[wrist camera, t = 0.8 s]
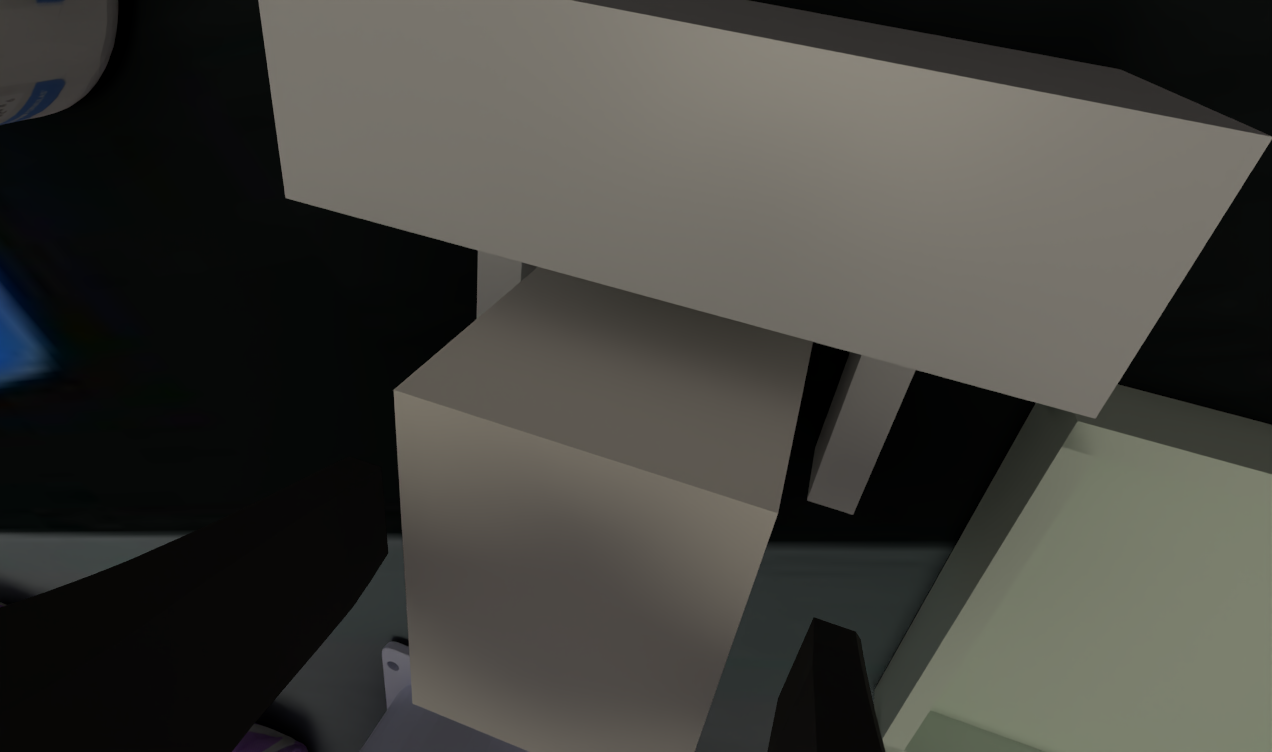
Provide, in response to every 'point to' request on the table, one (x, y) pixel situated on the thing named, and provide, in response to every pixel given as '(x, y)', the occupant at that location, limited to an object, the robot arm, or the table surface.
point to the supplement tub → (52, 53)
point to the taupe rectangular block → (589, 512)
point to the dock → (773, 180)
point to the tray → (1101, 593)
